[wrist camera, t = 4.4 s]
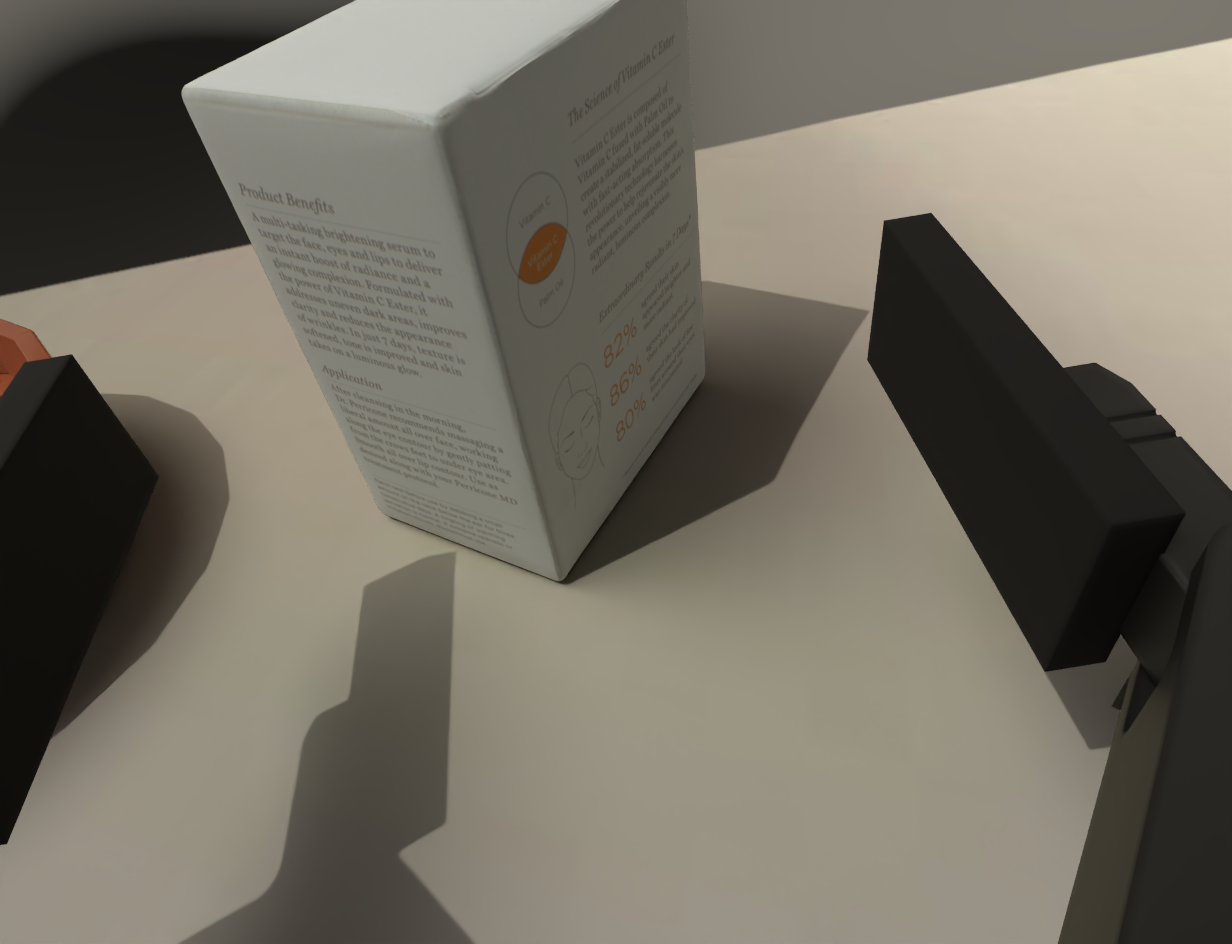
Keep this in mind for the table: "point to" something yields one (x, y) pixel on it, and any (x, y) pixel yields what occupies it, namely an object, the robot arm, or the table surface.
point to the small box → (479, 248)
